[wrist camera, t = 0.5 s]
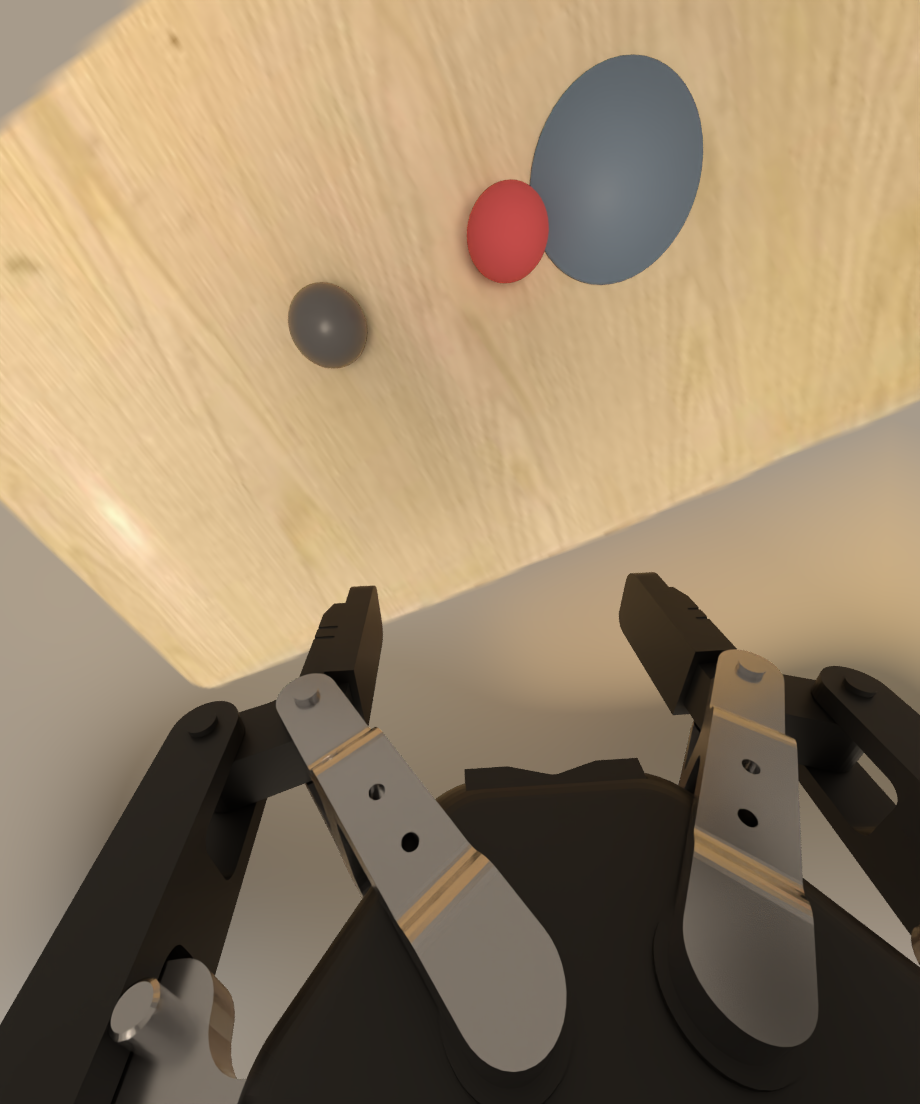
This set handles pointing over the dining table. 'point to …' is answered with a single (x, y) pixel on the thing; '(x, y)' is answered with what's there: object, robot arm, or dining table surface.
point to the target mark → (618, 168)
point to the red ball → (507, 231)
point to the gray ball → (327, 325)
